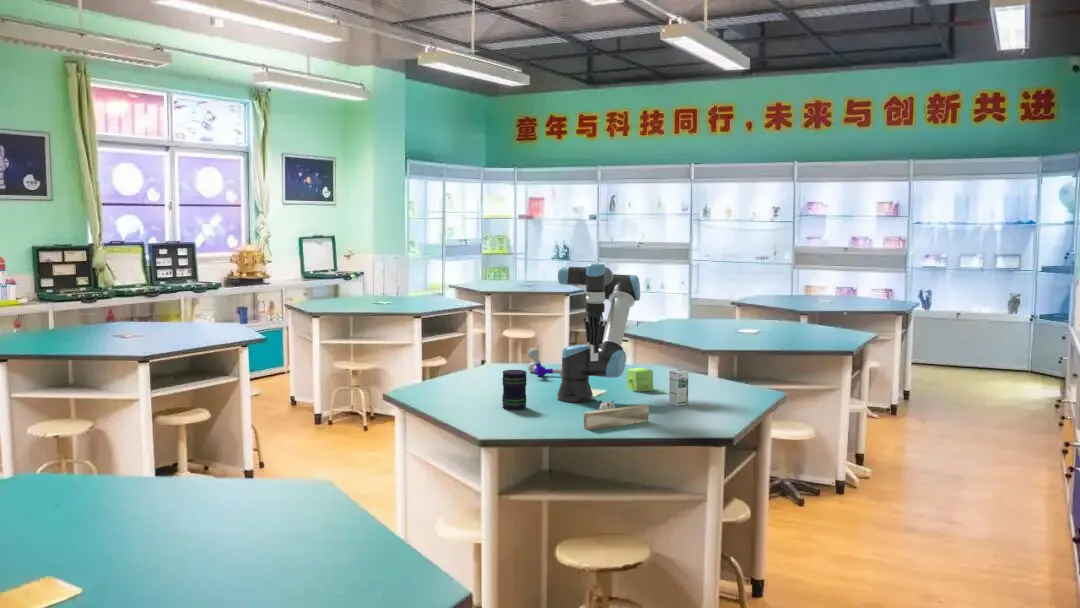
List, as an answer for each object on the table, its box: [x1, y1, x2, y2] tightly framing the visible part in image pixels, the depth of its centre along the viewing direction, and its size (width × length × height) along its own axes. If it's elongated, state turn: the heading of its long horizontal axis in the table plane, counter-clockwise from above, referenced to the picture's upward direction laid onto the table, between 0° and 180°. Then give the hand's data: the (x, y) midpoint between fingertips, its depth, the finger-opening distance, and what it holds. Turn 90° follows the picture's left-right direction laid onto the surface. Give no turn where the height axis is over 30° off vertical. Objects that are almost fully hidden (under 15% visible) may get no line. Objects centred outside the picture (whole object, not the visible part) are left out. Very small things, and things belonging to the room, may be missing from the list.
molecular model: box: [527, 347, 562, 378], centre depth 432 cm, size 21×21×15 cm
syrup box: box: [668, 368, 689, 407], centre depth 365 cm, size 6×6×14 cm
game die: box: [596, 400, 617, 411], centre depth 331 cm, size 9×8×10 cm
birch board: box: [583, 404, 650, 431], centre depth 325 cm, size 3×28×6 cm, turn 122°
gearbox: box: [625, 367, 654, 392], centre depth 398 cm, size 18×10×10 cm, turn 18°
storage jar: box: [501, 369, 527, 411], centre depth 353 cm, size 10×10×15 cm
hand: (594, 360), depth 350 cm, fingers closed
